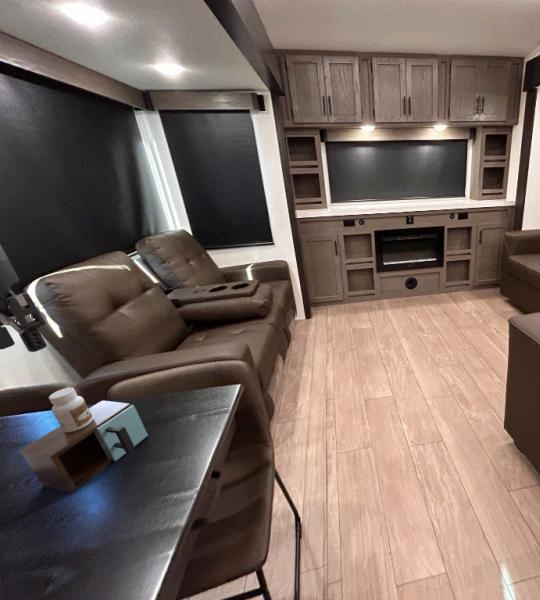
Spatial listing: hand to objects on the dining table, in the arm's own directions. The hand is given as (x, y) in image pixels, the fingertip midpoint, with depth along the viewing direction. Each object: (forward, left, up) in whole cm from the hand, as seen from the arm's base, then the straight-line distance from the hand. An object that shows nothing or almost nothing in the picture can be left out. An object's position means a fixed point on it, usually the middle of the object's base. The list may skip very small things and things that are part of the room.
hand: (22, 348), depth 58 cm
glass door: (+11, +3, -26) cm, 28 cm away
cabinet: (+4, 0, -26) cm, 26 cm away
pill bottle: (+4, 0, -17) cm, 18 cm away
